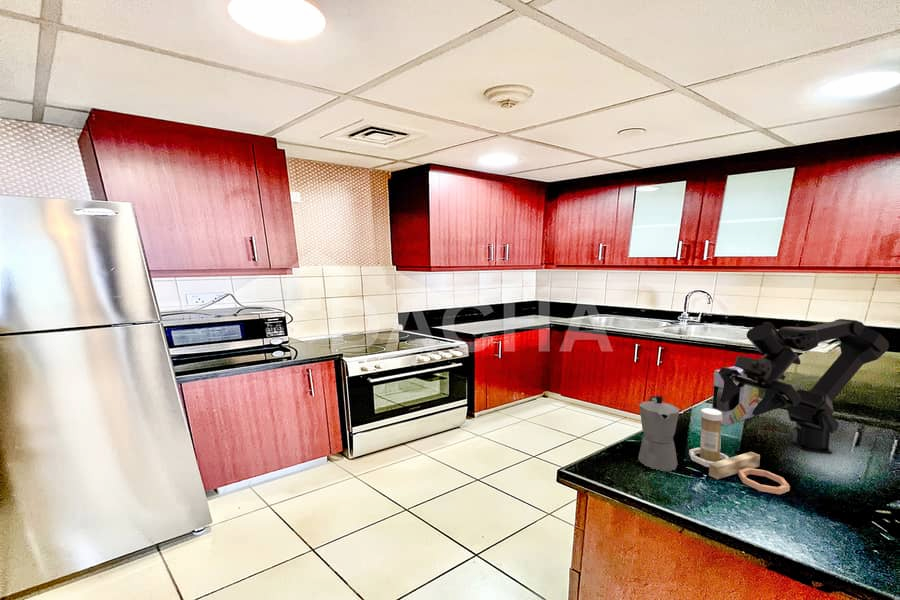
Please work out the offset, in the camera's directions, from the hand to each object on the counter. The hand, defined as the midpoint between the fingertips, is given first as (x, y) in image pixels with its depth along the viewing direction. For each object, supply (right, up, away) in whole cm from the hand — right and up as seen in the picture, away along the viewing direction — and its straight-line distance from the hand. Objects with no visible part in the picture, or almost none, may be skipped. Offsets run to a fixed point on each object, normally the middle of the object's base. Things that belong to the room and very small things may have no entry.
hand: (736, 408), depth 100 cm
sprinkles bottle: (-8, -14, -1) cm, 16 cm away
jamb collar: (-8, -14, -1) cm, 16 cm away
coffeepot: (-22, -14, -1) cm, 26 cm away
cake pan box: (+19, -11, +26) cm, 34 cm away
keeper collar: (-3, -14, -11) cm, 18 cm away
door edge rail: (-5, -14, -6) cm, 16 cm away
